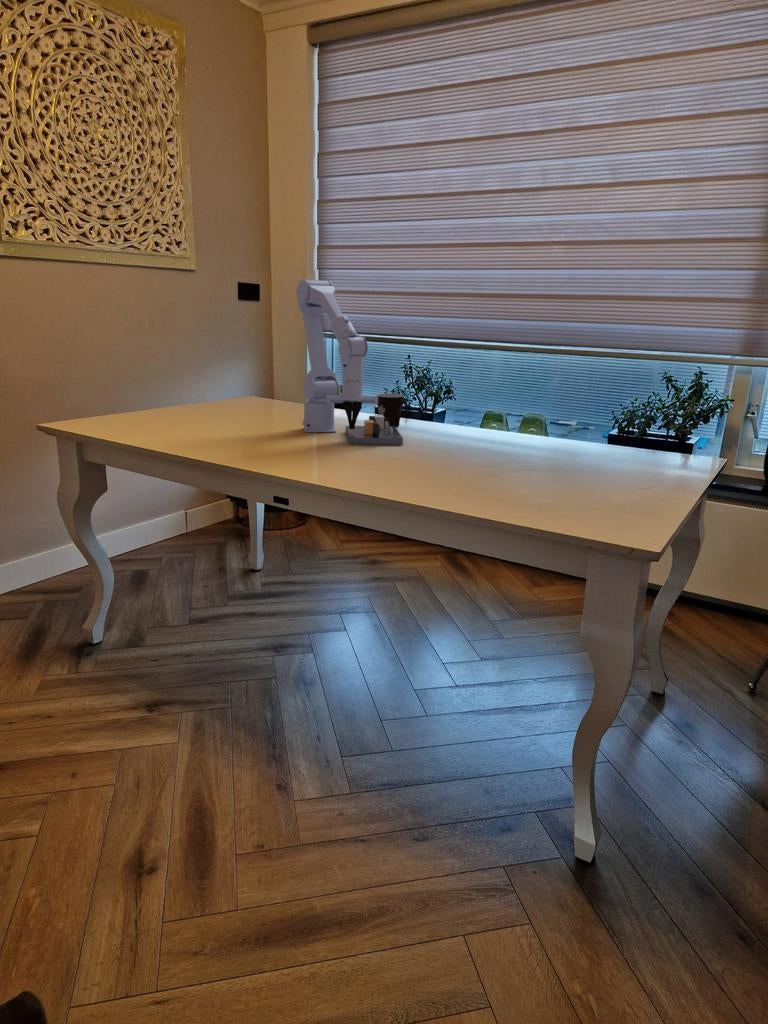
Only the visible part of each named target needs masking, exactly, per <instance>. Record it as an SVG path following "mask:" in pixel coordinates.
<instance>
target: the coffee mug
mask: <svg viewBox="0 0 768 1024" xmlns="http://www.w3.org/2000/svg"><path fill="white" fill-rule="evenodd" d="M376 396H377V397H378V404H376V405H377V415H383V416H384V426H385V421H388V423H389V426H395V427H398V426H399V427H400V422H401V418H402V417H405V415H406V414H407V412H408V410H409V406H408V404H407V402H405V401H404V394H400V393H386V392H385V393H377V394H376ZM403 405H404V406H405V411H404V412H403V413H402V409H403ZM399 427H398V428H399Z"/></svg>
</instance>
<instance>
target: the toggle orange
mask: <svg viewBox="0 0 768 1024" xmlns="http://www.w3.org/2000/svg"><path fill="white" fill-rule="evenodd" d="M373 423H374V421H373V420H369V419H364V424H363V426H364V433H365V435H373Z"/></svg>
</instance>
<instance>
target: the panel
mask: <svg viewBox="0 0 768 1024" xmlns="http://www.w3.org/2000/svg"><path fill="white" fill-rule="evenodd" d="M368 420H373V421H374V423H373V435H365V433H364V425H355V429H349V425H345V436H346V438H347V441H348V443H349V445H350V444H357V445H356V446H403V445H404V438H403V436H402V435H401V433H400V431H399V430H398V429H397V428H395V426H389V423H388V421H385V426H384V429H380V423H376V416H375V415H369V416H368Z"/></svg>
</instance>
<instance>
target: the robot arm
mask: <svg viewBox="0 0 768 1024" xmlns="http://www.w3.org/2000/svg"><path fill="white" fill-rule="evenodd" d="M334 286H335V285H334V284H333V282H332V281H331V280H327V279H326V280H318V279H305V278H302V279H301V278H300V280H299V282H298V283H297V286H296V287H297V288H296V290H295V294H296V299H297V300H296V301H297V305H298V310H299V311H300V312H301V316H302V322H303V327H304V334H305V340H306V345H307V351H308V357H309V358H308V359H309V365H310V371H308V372H307V373H306V375H304V377H303V379H304V380H303V381H304V387H303V390H304V391H303V393H304V395H305V397H306V399H307V400H305V401H304V402H303V403H304V404H303V420H302V426H304V427H303V429H304V430H303V431H304V433H336V431H337V430H336V426H335V404H341V405H342V406H343V408H344V412H345V414H346V416H347V421H348V426H349V429H355V426H356V424H357V419H358V417H359V414H360V412H361V410H362V408H363V404H374V405H377V404H378V397H377V395H363V387H364V386H363V383H364V382H363V380H364V379H363V378H364V358H365V357H366V355H367V354H368V350H369V347H368V341H367V339H366V337H364V336H363V335H361V334H359V333H357V331H356V329H355V328H354V326H353V323H352V322H351V320H350V319H349V317H348V316H346V315H343V314H342V312H341V309H340V307H339V305H338V302H337V300H336V298H335V297H336V288H335V287H334ZM323 312H325V314H326V316H327V317H328V319H329V320H330V321H331V323H330V330H331V332H332V333H333V335H334V336H335V339H336V341H337V342H338V347H337V349H338V354H339V356H340V363H341V364H342V381H341V382H342V383H341V385H342V390H341V385H340V382H339V379H338V378H337V373H336V372H335V371H333V369H331V368H330V367H329V363H328V358H327V351H326V345H325V341H324V340H325V339H324V333H323V327H322V322H321V315H322V313H323ZM341 391H342V392H341ZM341 393H342V394H341ZM340 394H341V395H340Z"/></svg>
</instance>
